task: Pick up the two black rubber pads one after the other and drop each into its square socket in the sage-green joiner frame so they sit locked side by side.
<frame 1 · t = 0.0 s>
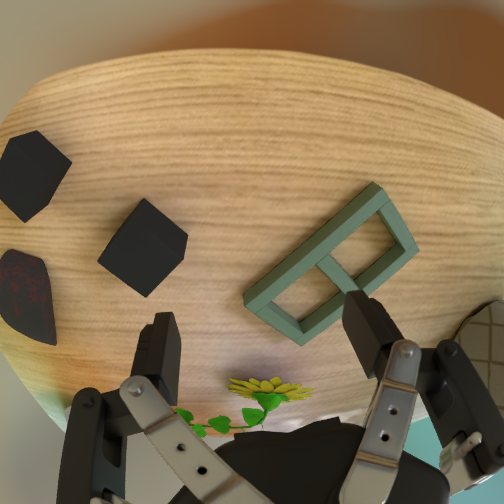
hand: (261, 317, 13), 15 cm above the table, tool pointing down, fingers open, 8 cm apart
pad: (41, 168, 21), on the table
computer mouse: (32, 298, 28), on the table
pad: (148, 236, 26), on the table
flower: (221, 397, 40), on the table
joiner: (333, 267, 30), on the table
planter: (475, 331, 42), on the table
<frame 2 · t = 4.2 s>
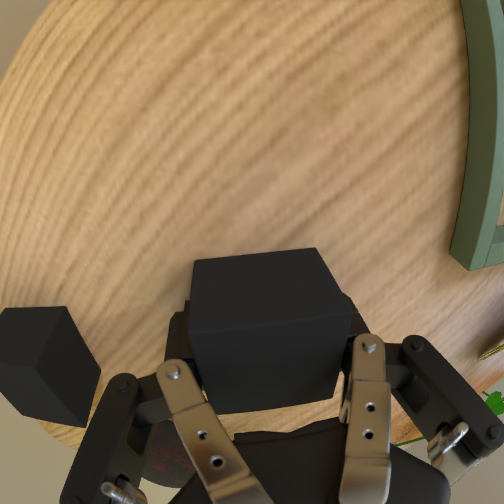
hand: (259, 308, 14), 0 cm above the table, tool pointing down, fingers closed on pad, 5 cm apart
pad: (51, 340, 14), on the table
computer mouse: (193, 449, 23), on the table
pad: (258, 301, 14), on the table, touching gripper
flower: (472, 369, 23), on the table
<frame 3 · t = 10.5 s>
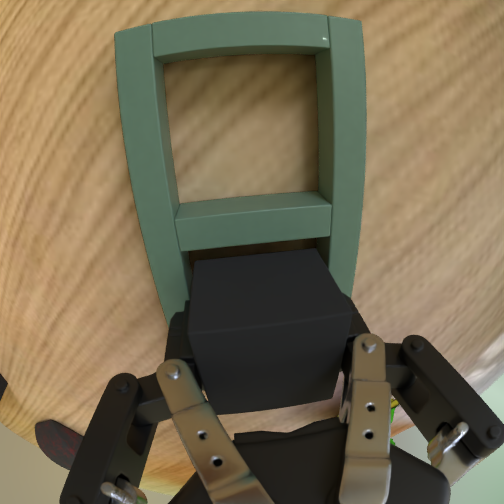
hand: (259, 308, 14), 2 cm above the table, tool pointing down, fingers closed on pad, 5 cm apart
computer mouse: (86, 445, 26), on the table
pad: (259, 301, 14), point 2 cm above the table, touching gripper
joiner: (250, 210, 14), on the table
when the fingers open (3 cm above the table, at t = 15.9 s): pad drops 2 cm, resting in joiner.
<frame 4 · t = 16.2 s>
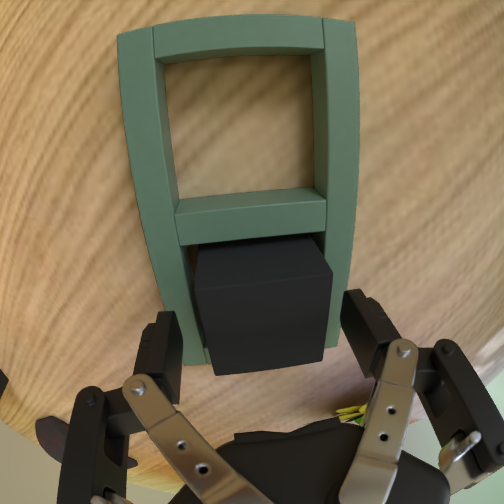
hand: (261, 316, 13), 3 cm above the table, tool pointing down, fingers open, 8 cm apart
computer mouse: (86, 442, 27), on the table
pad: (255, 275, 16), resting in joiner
flower: (336, 422, 27), on the table
joiner: (248, 206, 14), on the table
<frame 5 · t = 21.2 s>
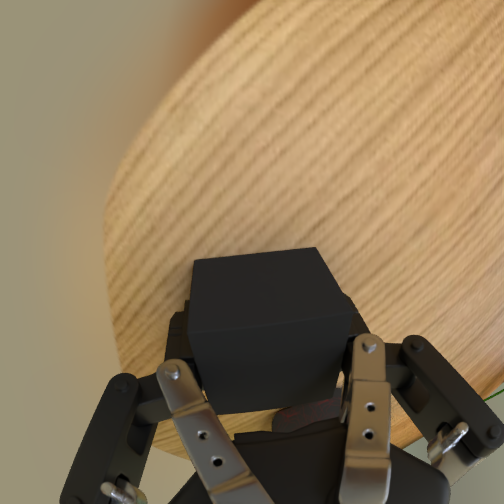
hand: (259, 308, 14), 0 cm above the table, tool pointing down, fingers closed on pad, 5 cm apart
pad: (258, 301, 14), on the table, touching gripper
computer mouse: (332, 423, 22), on the table
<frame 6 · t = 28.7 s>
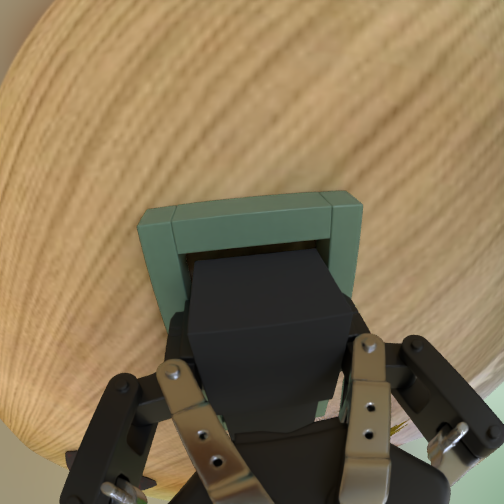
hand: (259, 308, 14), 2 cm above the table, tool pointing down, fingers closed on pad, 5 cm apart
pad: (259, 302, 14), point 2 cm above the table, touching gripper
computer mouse: (111, 467, 30), on the table
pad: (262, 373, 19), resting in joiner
joiner: (258, 335, 17), on the table
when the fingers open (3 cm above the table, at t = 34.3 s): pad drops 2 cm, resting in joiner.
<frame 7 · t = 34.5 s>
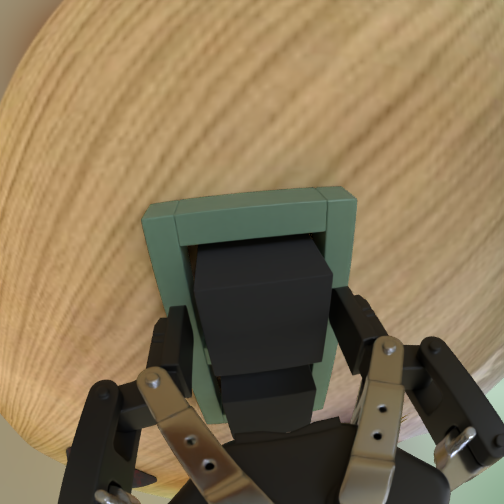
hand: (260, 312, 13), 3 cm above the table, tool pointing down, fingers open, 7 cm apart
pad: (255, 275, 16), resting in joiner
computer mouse: (111, 464, 30), on the table
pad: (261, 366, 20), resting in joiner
joiner: (257, 328, 18), on the table
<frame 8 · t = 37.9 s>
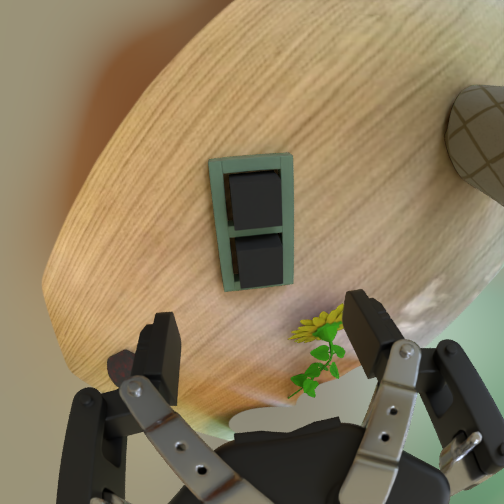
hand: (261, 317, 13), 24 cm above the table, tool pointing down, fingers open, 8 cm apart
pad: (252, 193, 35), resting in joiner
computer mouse: (142, 372, 49), on the table
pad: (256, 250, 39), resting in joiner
flower: (313, 348, 50), on the table
joiner: (253, 223, 37), on the table
planter: (476, 134, 33), on the table
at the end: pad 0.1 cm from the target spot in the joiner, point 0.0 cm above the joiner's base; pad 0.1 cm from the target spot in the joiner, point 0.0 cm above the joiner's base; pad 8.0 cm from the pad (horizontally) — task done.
